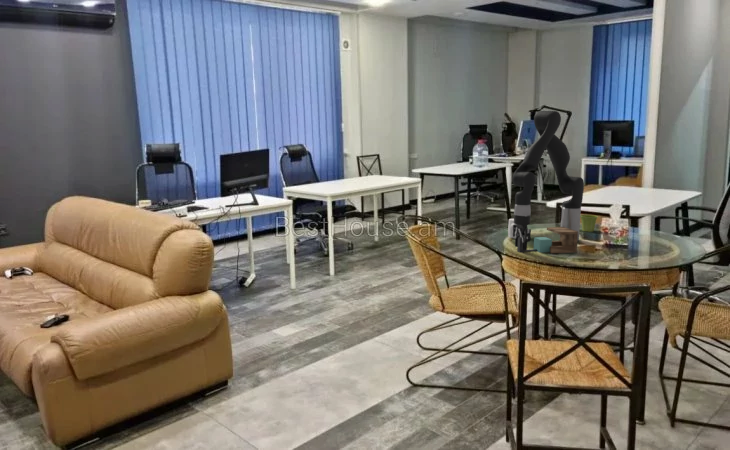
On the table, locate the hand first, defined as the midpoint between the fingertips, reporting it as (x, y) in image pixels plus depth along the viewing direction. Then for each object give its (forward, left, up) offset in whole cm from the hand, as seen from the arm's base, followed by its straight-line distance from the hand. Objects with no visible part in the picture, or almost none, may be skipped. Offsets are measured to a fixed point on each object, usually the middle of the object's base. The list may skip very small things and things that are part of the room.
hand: (520, 248), depth 266 cm
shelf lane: (0, +19, -2) cm, 19 cm away
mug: (-34, +14, -2) cm, 37 cm away
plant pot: (-41, +62, -2) cm, 74 cm away
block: (0, +7, -2) cm, 7 cm away
